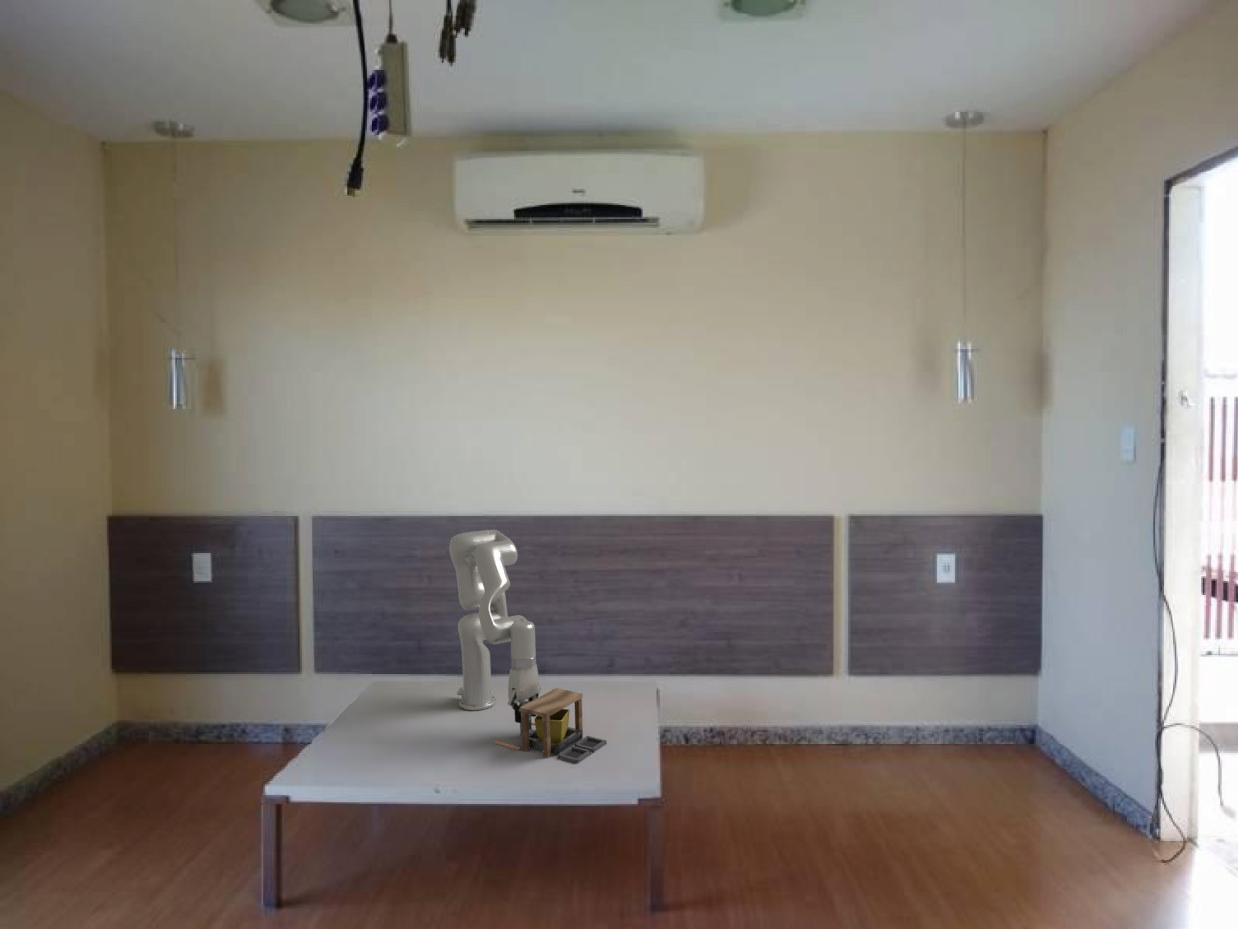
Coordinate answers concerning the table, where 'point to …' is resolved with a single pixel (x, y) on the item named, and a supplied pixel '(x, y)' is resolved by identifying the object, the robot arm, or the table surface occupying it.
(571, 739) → the grey tray with upright
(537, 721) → the flower pot
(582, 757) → the frames
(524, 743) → the small wooden table
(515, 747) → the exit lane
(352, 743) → the table surface
